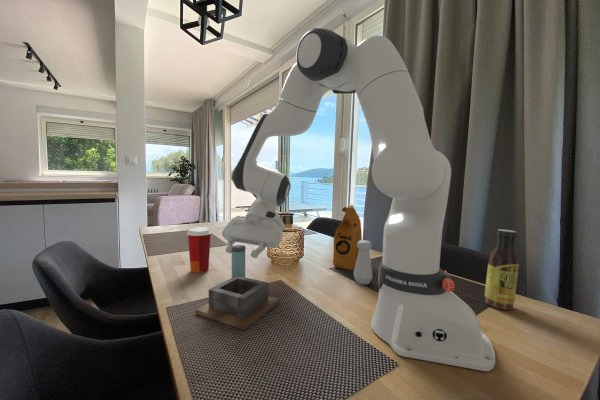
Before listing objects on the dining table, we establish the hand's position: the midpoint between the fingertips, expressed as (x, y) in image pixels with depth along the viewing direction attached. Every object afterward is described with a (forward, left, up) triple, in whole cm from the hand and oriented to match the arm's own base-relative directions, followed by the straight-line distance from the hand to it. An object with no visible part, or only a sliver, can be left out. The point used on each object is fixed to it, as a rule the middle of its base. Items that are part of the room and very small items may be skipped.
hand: (240, 254), depth 80 cm
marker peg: (0, +1, -8) cm, 8 cm away
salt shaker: (-33, -18, -9) cm, 39 cm away
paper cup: (+18, -1, -9) cm, 20 cm away
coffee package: (-24, -32, -9) cm, 41 cm away
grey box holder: (-10, +13, -8) cm, 18 cm away
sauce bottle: (-68, -20, -9) cm, 71 cm away
